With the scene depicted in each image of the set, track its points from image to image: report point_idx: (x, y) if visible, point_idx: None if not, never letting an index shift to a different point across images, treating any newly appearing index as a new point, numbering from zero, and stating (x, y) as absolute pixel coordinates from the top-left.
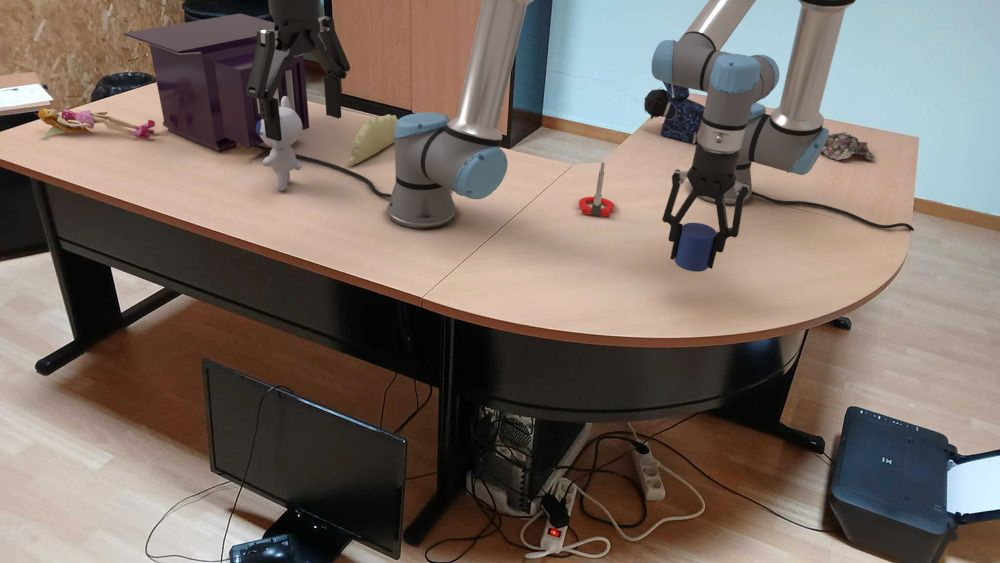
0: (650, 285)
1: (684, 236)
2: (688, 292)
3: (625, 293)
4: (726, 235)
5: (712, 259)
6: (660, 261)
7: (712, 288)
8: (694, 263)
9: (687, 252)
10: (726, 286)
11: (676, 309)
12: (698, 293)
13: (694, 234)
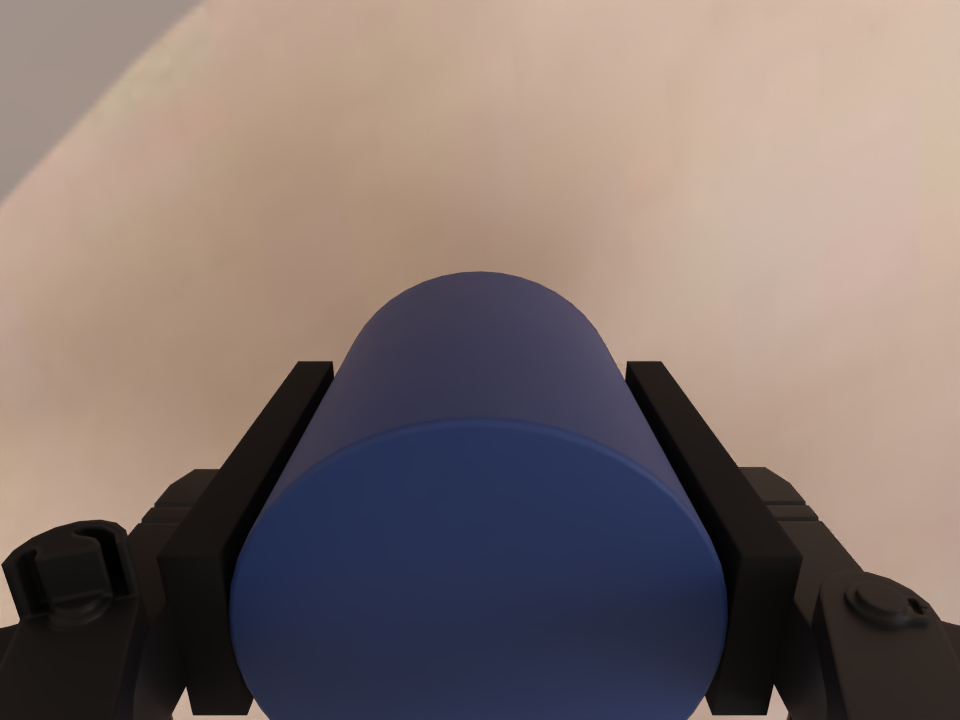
0: (672, 344)
1: (654, 456)
2: None
3: (810, 192)
4: (26, 612)
5: (289, 400)
6: None
7: None
8: (443, 297)
9: (541, 331)
10: None
11: (496, 154)
12: None
13: (525, 508)
